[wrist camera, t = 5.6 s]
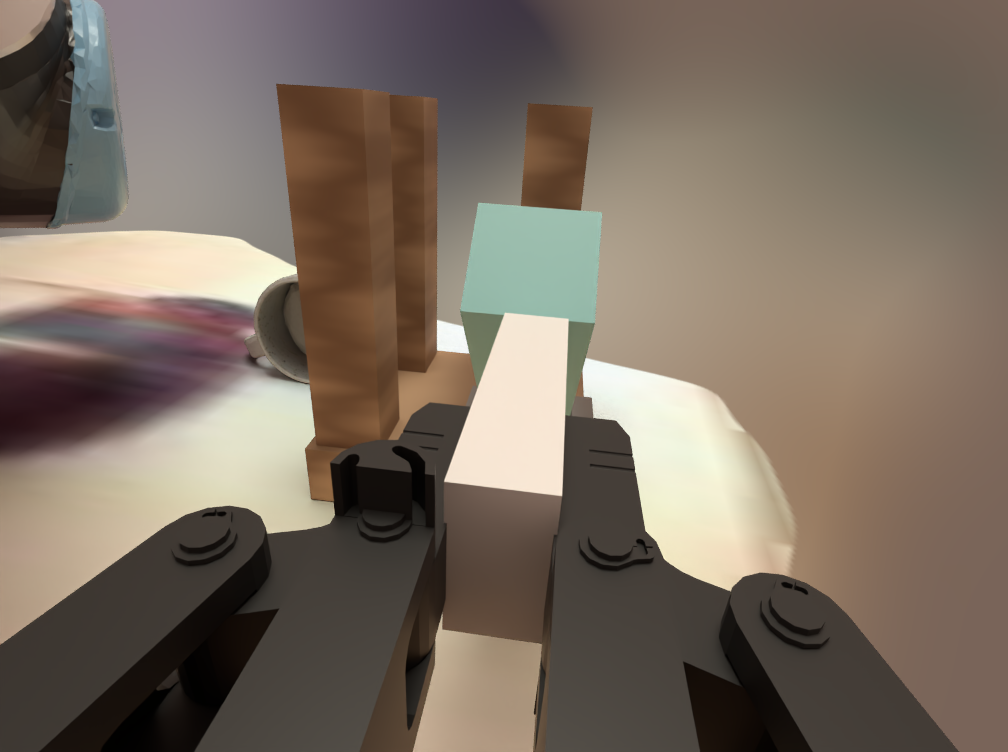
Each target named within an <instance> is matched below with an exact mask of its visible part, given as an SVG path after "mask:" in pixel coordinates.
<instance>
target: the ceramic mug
mask: <svg viewBox="0 0 1008 752" xmlns="http://www.w3.org/2000/svg"><path fill="white" fill-rule="evenodd" d="M254 329H255V334H254V335H252V336H250V337H248V338H246V339H245V340H244V342H245V345H246V347H247V349H248V351H249V352H250V354H251V356H252V357H253V358H259V357H262V356H266V357H267V359H268V360H269V361H270V362H271V363H272V364H273V365H274V366H275V367H276V368H277V369H278V370H279V371H281V372H282V373H283V374H285V375H286V376H288V377H290V378H293V379H295V380H297V381H300V382H303V383H308V384H310V382H309V373H308V364H307V355H306V346H305V337H304V328H303V319H302V310H301V301H300V292H299V283H298V274H294V275H291V276H287V277H284V278H281V279H279V280H277V281H275V282H274V283H272V284H271V285H270V286H268V287H267V288H266V290H265V291H264V292H263V293H262V294H261V296H260V297H259V299H258V302H257V305H256V307H255V311H254Z"/></svg>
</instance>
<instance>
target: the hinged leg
mask: <svg viewBox="0 0 1008 752" xmlns="http://www.w3.org/2000/svg"><path fill="white" fill-rule="evenodd" d="M601 221H602V212H590V211H578V210H565V209H552V208H539V207H526V206H512V205H499V204H486V203H478V209H477V215H476V221H475V226H474V233H473V238H472V244H471V250H470V256H469V262H468V268H467V273H466V280H465V285H464V291H463V297H462V303H461V309H460V312H461V317H462V322H463V326H464V331H465V335H466V340H467V344H468V349H469V353H470V358H471V362H472V367H473V371H474V376H475V380H476V385H477V389H478V386H479V383H480V380H481V378H482V375H483V372H484V369H485V367H486V364H487V361H488V358H489V356H490V353H491V350H492V347H493V344H494V342H495V339H496V336H497V333H498V331H499V328H500V325H501V322H502V320H503V317H504V314H505V313H513V314H524V315H534V316H544V317H555V318H566V319H569V322H568V350H567V377H566V404H565V415H568V416H570V414H571V411H572V407H573V403H574V399H575V396H576V392H577V388H578V384H579V381H580V377H581V373H582V369H583V366H584V362H585V358H586V354H587V350H588V346H589V343H590V339H591V335H592V332H593V328H594V324H595V312H596V297H597V281H598V267H599V251H600V236H601Z"/></svg>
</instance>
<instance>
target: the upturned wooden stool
mask: <svg viewBox="0 0 1008 752" xmlns="http://www.w3.org/2000/svg"><path fill="white" fill-rule="evenodd" d="M276 86H277V95H278V104H279V112H280V121H281V130H282V139H283V148H284V157H285V165H286V175H287V184H288V193H289V202H290V211H291V220H292V229H293V237H294V247H295V256H296V264H297V274H298V283H299V292H300V301H301V310H302V319H303V328H304V337H305V346H306V355H307V364H308V373H309V382H310V391H311V400H312V409H313V418H314V426H315V435H316V436H315V437H314V438H313V439H312V441H311V442H310V443H309V445H308V446H307V447H306V448H305V453H306V461H307V469H308V477H309V485H310V493H311V499H317V500H325V501H334V499H333V489H332V479H331V469H330V462H331V461H332V460H333V459H334V458H335V457H337V456H338V455H339V454H340V453H341V452H342V451H344V450H346V449H349V448H351V447H353V446H355V445H357V444H360V443H365V442H370V441H375V440H398V439H399V437H400V435H401V433H403V430H404V428H405V426H406V424H407V422H408V421H409V419H410V417H411V415H412V414H413V413H415V412H416V411H418V410H419V409H421V408H422V407H423V406H425V405H426V404H428V403H429V402H433V403H442V404H451V405H460V406H469V407H471V405H472V403H473V400H474V397H475V394H476V392H477V385H476V380H475V376H474V371H473V367H472V362H471V358H470V354H465V353H455V352H445V351H437V99H436V98H428V97H417V96H400V95H389V92H380V91H373V90H365V89H351V88H335V87H318V86H303V85H286V84H276ZM591 117H592V107H577V106H576V107H575V106H561V105H545V104H530V103H528V112H527V127H526V142H525V156H524V170H523V185H522V200H521V206H526V207H539V208H552V209H565V210H578V211H581V204H582V195H583V186H584V178H585V177H584V176H585V169H586V160H587V152H588V143H589V134H590V125H591ZM570 416H577V417H587V418H593V408H592V398H590V397H584V396H583V375H582V373H581V377H580V381H579V384H578V388H577V392H576V396H575V399H574V403H573V407H572V411H571V414H570Z"/></svg>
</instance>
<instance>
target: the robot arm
mask: <svg viewBox="0 0 1008 752" xmlns="http://www.w3.org/2000/svg"><path fill="white" fill-rule="evenodd" d="M128 199H129V194H128V177H127V167H126V157H125V147H124V139H123V130H122V122H121V113H120V105H119V97H118V90H117V83H116V75H115V67H114V60H113V52H112V46H111V40H110V33H109V27H108V23H107V19H106V16H105V12H104V10H103V8H102V7H101V6H100V5H99V4H98V3H97V2H96V1H94V0H0V228H47V229H56V228H59V227H61V226H62V225H69V224H83V223H97V222H106V221H110V220H113V219H115V218H117V217H118V216H120V215H121V214H122V213H123V212H124V210H125V208H126V207H127V204H128ZM568 322H569V319H566V318H555V317H544V316H534V315H524V314H513V313H505V314H504V317H503V320H502V322H501V325H500V328H499V331H498V333H497V336H496V339H495V342H494V344H493V347H492V350H491V353H490V356H489V358H488V361H487V364H486V367H485V369H484V372H483V375H482V378H481V380H480V383H479V386H478V389H477V392H476V394H475V397H474V400H473V403H472V405H471V407H469V406H460V405H451V404H442V403H433V402H429V403H428V404H426V405H425V406H423V407H422V408H421V409H419V410H418V411H416V412H415V413H413V414H412V415H411V417H410V419H409V421H408V422H407V424H406V426H405V428H404V430H403V433H401V435H400V437H399V439H398V440H375V441H370V442H365V443H360V444H357V445H355V446H353V447H351V448H349V449H346V450H344V451H342V452H341V453H340V454H339V455H338V456H337V457H335V458H334V459H333V460H332V461H331V462H330V469H331V479H332V489H333V499H334V509H335V516H334V518H333V520H332V521H331V523H330V524H328V525H325V526H322V527H318V528H312V529H307V530H299V531H289V532H280V533H271V534H267V531H266V527H265V525H264V523H263V521H262V519H261V517H260V516H259V515H257V514H256V513H254V512H252V511H251V510H249V509H246V508H240V507H234V506H223V507H213V508H206V509H203V510H200V511H197V512H194V513H190V514H187V515H185V516H183V517H181V518H179V519H178V520H176V521H174V522H172V523H170V524H169V525H167V526H165V527H164V528H162V529H161V530H159V531H158V532H157V533H155V534H154V535H153V536H151V537H150V538H148V539H147V540H146V541H144V542H143V543H141V544H140V545H139V546H137V547H136V548H134V549H133V550H132V551H130V552H129V553H127V554H126V555H125V556H123V557H122V558H121V559H119V560H118V561H116V562H115V563H114V564H112V565H111V566H109V567H108V568H107V569H105V570H104V571H102V572H101V573H100V574H98V575H97V576H95V577H94V578H93V579H91V580H90V581H89V582H87V583H86V584H84V585H83V586H82V587H80V588H79V589H77V590H76V591H75V592H73V593H72V594H70V595H69V596H68V597H66V598H65V599H63V600H62V601H61V602H59V603H58V604H57V605H55V606H54V607H52V608H51V609H50V610H48V611H47V612H45V613H44V614H43V615H41V616H40V617H38V618H37V619H36V620H34V621H33V622H31V623H30V624H29V625H27V626H26V627H25V628H23V629H22V630H20V631H19V632H18V633H16V634H15V635H13V636H12V637H11V638H9V639H8V640H6V641H5V642H4V643H2V644H1V645H0V752H413V748H414V744H415V740H416V736H417V732H418V728H419V724H420V720H421V716H422V712H423V708H424V704H425V701H426V697H427V693H428V689H429V685H430V681H431V677H432V673H433V669H434V665H435V637H436V633H437V630H438V626H439V622H440V619H441V615H442V611H443V625H442V629H444V630H451V631H458V632H465V633H471V634H478V635H485V636H492V637H498V638H505V639H512V640H519V641H526V642H533V643H540V644H542V651H541V663H540V671H539V678H538V686H537V694H536V701H535V709H534V714H535V715H536V719H535V733H534V747H533V752H959V751H958V750H957V749H956V748H955V746H954V745H953V744H952V743H951V742H950V740H949V739H948V738H947V737H946V736H945V734H944V733H943V732H942V730H941V729H940V728H939V727H938V725H937V724H936V723H935V722H934V721H933V719H932V718H931V717H930V716H929V714H927V712H926V711H925V709H924V708H923V707H922V706H921V705H920V703H919V702H918V701H917V700H916V698H915V697H914V696H913V695H912V693H911V692H910V691H909V690H908V689H907V688H906V686H905V685H904V684H903V682H902V681H901V680H900V679H899V677H898V676H897V675H896V674H895V673H894V671H893V670H892V669H891V668H890V667H889V665H888V664H887V663H886V661H885V660H884V659H883V658H882V657H881V655H880V654H879V653H878V652H877V650H876V649H875V648H874V647H873V645H872V644H871V643H870V642H869V641H868V639H867V638H866V637H865V636H864V634H863V633H862V632H861V631H860V629H859V628H858V627H857V626H856V625H855V623H854V622H853V621H852V620H851V618H850V617H849V616H848V615H847V614H846V613H845V612H844V611H843V610H842V609H841V608H840V607H839V606H838V605H837V604H836V603H835V602H834V601H833V600H832V599H830V598H829V597H828V596H826V595H825V594H823V593H821V592H820V591H818V590H817V589H815V588H813V587H811V586H810V585H808V584H807V583H804V582H801V581H799V580H796V579H793V578H790V577H787V576H784V575H779V574H769V573H758V574H753V575H749V576H745V577H743V578H742V579H741V580H740V581H739V582H738V583H737V584H735V585H734V586H733V587H732V590H731V592H730V591H728V590H725V589H722V588H720V587H717V586H714V585H712V584H709V583H707V582H704V581H701V580H699V579H696V578H694V577H692V576H690V575H688V574H685V573H683V572H681V571H680V570H678V569H677V568H675V567H674V566H672V565H671V564H669V563H668V562H666V561H665V560H664V559H663V556H662V554H661V551H660V549H659V547H658V545H657V542H656V541H655V540H654V539H653V538H652V537H651V536H650V535H649V534H648V533H647V532H646V531H645V526H644V520H643V514H642V508H641V502H640V496H639V490H638V484H637V478H636V473H635V466H634V460H633V458H632V455H633V454H632V448H631V442H630V437H629V435H628V434H627V433H626V432H625V431H624V430H623V428H622V427H621V426H620V425H619V424H618V423H617V421H614V420H605V419H596V418H587V417H577V416H568V415H565V404H566V377H567V350H568Z"/></svg>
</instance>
